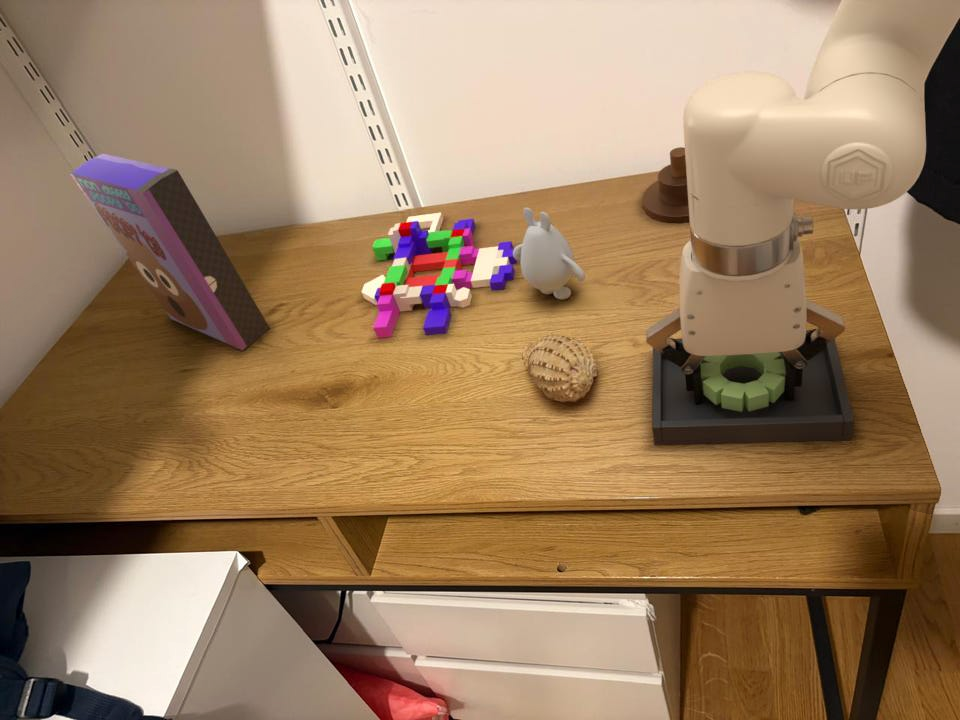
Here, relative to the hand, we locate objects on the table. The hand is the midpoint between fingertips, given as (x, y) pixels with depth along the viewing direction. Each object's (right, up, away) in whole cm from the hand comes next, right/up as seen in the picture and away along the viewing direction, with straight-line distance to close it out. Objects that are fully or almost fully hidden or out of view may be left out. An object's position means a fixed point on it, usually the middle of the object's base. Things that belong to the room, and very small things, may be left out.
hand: (742, 390), depth 70 cm
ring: (0, +1, -1) cm, 1 cm away
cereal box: (-61, +8, +32) cm, 69 cm away
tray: (0, 0, 0) cm, 1 cm away
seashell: (-16, +1, +8) cm, 18 cm away
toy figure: (-16, +10, +18) cm, 26 cm away
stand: (+1, +23, +26) cm, 35 cm away
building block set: (-30, +14, +28) cm, 43 cm away
